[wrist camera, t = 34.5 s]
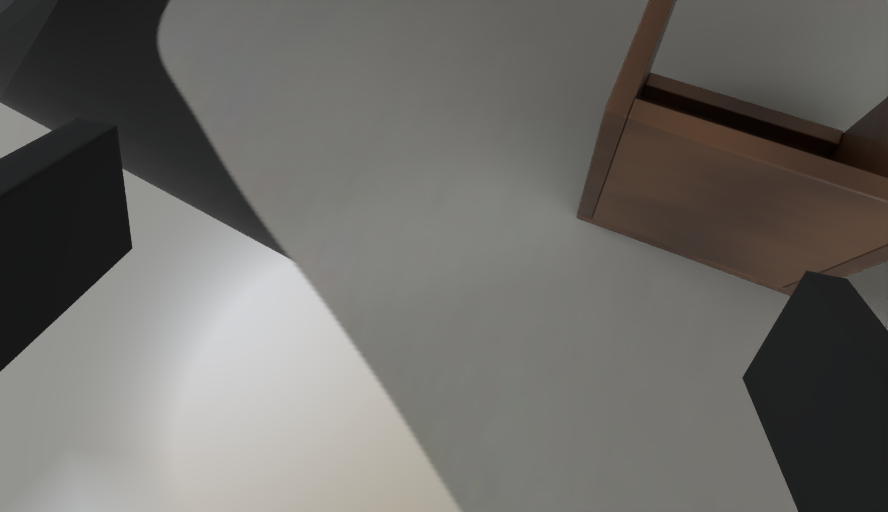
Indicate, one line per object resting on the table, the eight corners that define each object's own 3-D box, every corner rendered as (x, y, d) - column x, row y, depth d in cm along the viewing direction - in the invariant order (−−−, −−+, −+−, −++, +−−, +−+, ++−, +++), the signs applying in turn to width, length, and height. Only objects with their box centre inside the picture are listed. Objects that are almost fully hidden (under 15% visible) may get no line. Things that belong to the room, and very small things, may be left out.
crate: (576, 217, 25) (603, 110, 15) (629, 86, 26) (686, -94, 16) (791, 296, 23) (975, 230, 14) (840, 152, 24) (1046, -5, 15)
